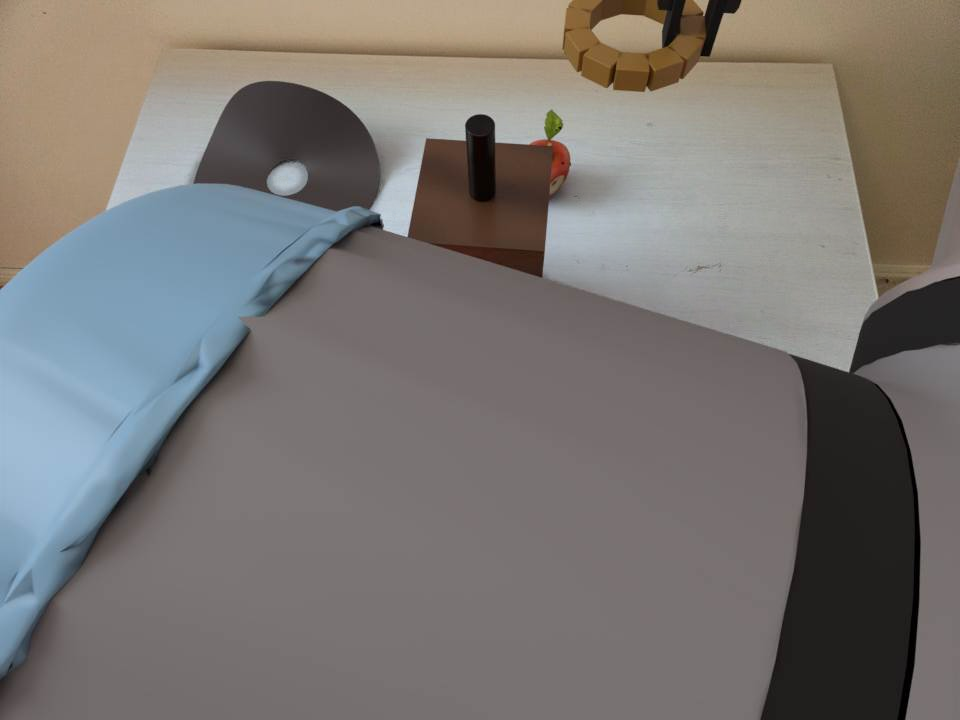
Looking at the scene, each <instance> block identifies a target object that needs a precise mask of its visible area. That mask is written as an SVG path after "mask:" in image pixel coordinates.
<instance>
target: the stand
mask: <svg viewBox="0 0 960 720" xmlns="http://www.w3.org/2000/svg"><path fill="white" fill-rule="evenodd" d="M552 156H553V146H544V145H529V144H528V143H512V142H511V143H510V142H495V159H496V193H495V195H494V197H493V198H492V199H491V200H489V201H486V202H479V201H476V200H474V199H473V198H472V197H471V196H470V194H469V181H468V165H467V149H466V140H461V139H447V138H446V139H444V138H429V137H426V138H425V143H424V148H423V152H422V158H421V163H420V169H419V173H418V180H417V185H416V191H415V194H414V195H415V196H414V201H413V206H412V211H411V216H410V221H409V226H408V232H407V236H406V237H409V238H412V239H415V240H419V241H422V242H425V243H429V244H432V245H435V246H438V247H442V248H445V249H448V250H452V251H455V252H458V253H462V254H465V255H468V256H472V257H475V258H478V259H481V260H485V261H488V262H491V263H495V264H498V265H501V266H505V267H508V268H511V269H515V270H518V271H521V272H524V273H528V274H531V275H534V276H538V277H541V278H543V275H544V266H545V265H544V264H545V252H546V243H547V242H546V241H547V229H548V215H549V205H550V204H549V203H550V197H549V193H550V181H551V168H552Z"/></svg>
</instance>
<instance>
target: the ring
mask: <svg viewBox="0 0 960 720" xmlns="http://www.w3.org/2000/svg"><path fill="white" fill-rule="evenodd" d="M666 13H667V10H659V9H658V5H657V0H571V2H569V3H568V7H566V9H565V17H564V25H563V37H562V46H561V48H562V51H563V55H564V56H565V57H566V59H567V60H568V62H569V63H570V65H571V66H572V67H573V69H574V70H575V72H576V73H580V72H581V73H580V76H581V77H583V78H584V79H587V80H589V81H591V82H593V83H595V84H597V85H599V86H601V87H603V88H605V89H609V87H610V86H611V85H612V90H613V91H621V92H638V93H645V92H646V90H647V89H648V91H650V92H654V91H657V90H660V89H663V88H665V87H669V86H671V85H675V84H678V83H679V81H680V80H684V79H685V78H686V77H687V76H688V74H689V73H690V72H691V71H692V70H693V69H694V67H695V66H696V65H697V64H698V63H699V60H700V58H701V56H700V55H701V51H702V48H703V45H704V42H705V38H706V28H705V12H704V11H703V9H702V8H701V7H700V6H699V5H698V3H696V2H695V0H686V2H685V5H684V9H683V13H682V17H681V21H680V24H679V28H678V32H677V36H676V38H675V39H674V40H673V42H672V43H671V44H670V45H669V46H667V47H664V48H662V47H661V48H658V49H655V50H652V51H649V52H646V53H643V52H629V51H620V50H618V49H616V48H614V47H612V46H610V45H607V44H605V43H603V42H601V41H600V39H599V38H598V37H597V36H596V33H594V31H593V29H594V28H595V27H596V26H597V25H598V24H599V23H600V22H601V21H603V20H607V19H610V18H613V17H617V16H621V15H626V16H643V17H645V18H647V19H650V20H651V21H654V22H656V23H659V24H661V25H664V21H665V17H666Z"/></svg>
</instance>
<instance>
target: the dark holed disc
mask: <svg viewBox="0 0 960 720" xmlns="http://www.w3.org/2000/svg"><path fill="white" fill-rule="evenodd" d="M285 160H296V161H298V162H300V163H301V164H303V166H304V167H305V169H306V171H307V180H306V183H305V185H304V186H303V187H302V188H301V189H300V190H298V191H296V192H295V193H292V194H286V195H281V194H276V193H274V192H272V190H271V189H269V187H268V185H267V179H268V176H269V174H270V173H271V171H272V170H273V169H274V168H275V167H276V166H277V165H279V163H280V162H283V161H285ZM198 183H200V184H229V185H235V186H241V187H245V188H249V189H253V190H257V191H261V192H265V193H269V194H272V195H276V196H280V197H284V198H287V199H291V200H295V201H299V202H303V203H306V204H310V205H314V206H318V207H321V208H325V209H329V210H333V211H337V212H338V211H340V210H343V209H347V208H350V207H354V206H360V207H363V208H366V209H368V210H370V208H371V206H372V204H373V202H374V201H375V199H376V196H377V193H378V192H377V191H378V189H379V183H380V160H379V155H378V151H377V147H376V145H375V142H374V140H373V137H372V135H371V133H370V132H369V130H368V128H367V126H366V125H365V124H364V123H363V121H362V120H361V119H360V118H359V117H358V115H357V114H356V113H355V112H354V111H353V110H352V109H350V107H348V106H347V105H346V104H344V103H342V102H341V101H340V100H339V99H337V98H336V97H333V96H332V95H329V94H328V93H325V92H323V91H320V90H318V89H316V88H313V87H310V86H306V85H303V84H300V83H296V82H295V83H294V82H288V81H281V80H262V81H257V82H252V83H249V84H247V85H245V86H243V87H241V88H240V89H238V90H237V91H236V92H235V93H234V94H233V95H232V97H231V98H230V99H229V100H228V102H227V103H226V105H225V106H224V108H223V110H222V112H221V113H220V116H219V118H218V120H217V123H216V124H215V127H214V129H213V131H212V134H211V136H210V139H209V141H208V143H207V146H206V147H205V149H204V152H203V154H202V157H201V160H200V161H199V165H198V167H197V170H196V173H195V176H194V180H193V184H198Z"/></svg>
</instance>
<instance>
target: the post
mask: <svg viewBox="0 0 960 720" xmlns="http://www.w3.org/2000/svg"><path fill="white" fill-rule="evenodd" d="M464 130H465V141H466V149H467V165H468V181H469V194H470V196H471V197H472V198H473V199H474V200H476V201H479V202H486V201H489V200H491V199H492V198H493V197H494V195H495V193H496V159H495V143H496V122H495V121H494V119H493V118H492V117H491V116H490V115H487V114H482V113H479V114H474V115H471V116H470V117H468V119H467V120H466V121H465V123H464Z"/></svg>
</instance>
